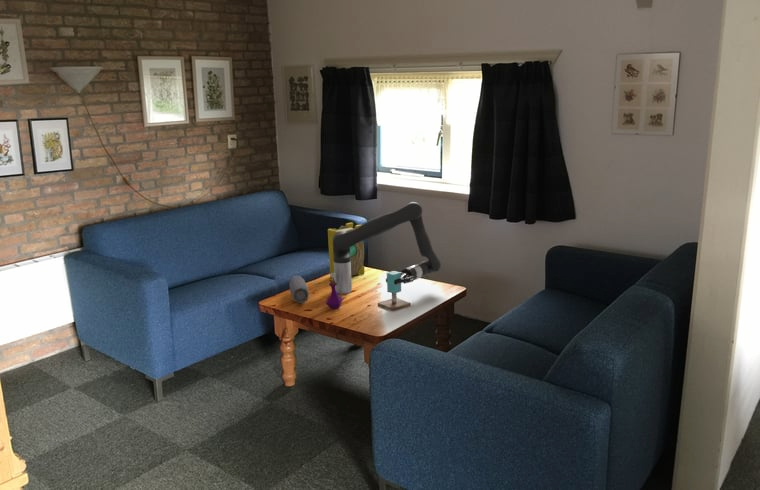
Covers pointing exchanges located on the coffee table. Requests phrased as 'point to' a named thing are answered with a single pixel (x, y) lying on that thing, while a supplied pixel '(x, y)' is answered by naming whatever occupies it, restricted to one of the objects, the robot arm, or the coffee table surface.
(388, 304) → the walnut base plate
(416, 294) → the coffee table surface
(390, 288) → the tall teal pillar
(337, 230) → the decorative book
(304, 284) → the bluetooth speaker
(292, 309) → the coffee table surface
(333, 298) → the purple potion bottle
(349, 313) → the coffee table surface
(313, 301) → the coffee table surface
